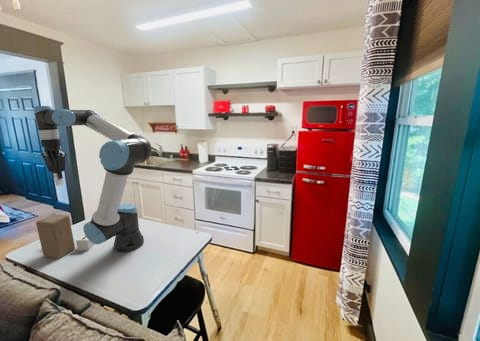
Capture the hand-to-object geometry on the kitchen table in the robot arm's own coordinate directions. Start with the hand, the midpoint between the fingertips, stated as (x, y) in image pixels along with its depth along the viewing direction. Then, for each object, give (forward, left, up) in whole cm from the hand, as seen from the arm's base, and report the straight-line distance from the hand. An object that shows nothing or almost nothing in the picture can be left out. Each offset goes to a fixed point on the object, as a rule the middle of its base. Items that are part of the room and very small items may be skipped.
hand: (59, 184), depth 118 cm
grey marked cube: (-7, -3, -36) cm, 37 cm away
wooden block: (+2, +5, -36) cm, 37 cm away
